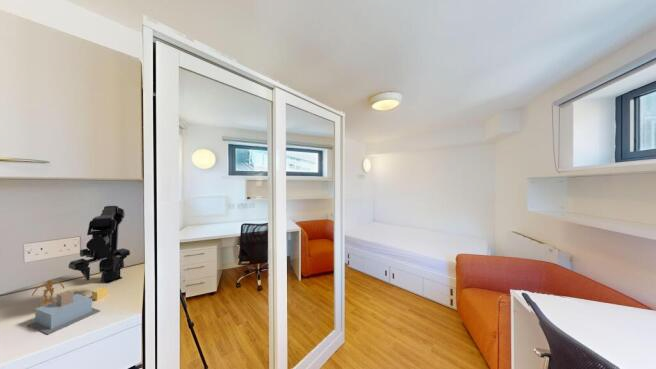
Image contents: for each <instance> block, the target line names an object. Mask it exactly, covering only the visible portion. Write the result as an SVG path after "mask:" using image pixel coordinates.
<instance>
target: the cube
mask: <svg viewBox="0 0 656 369" xmlns="http://www.w3.org/2000/svg"><path fill="white" fill-rule="evenodd" d="M107 297H109V287H107V286H106V287H105V286H102V287H99V288H97V289H93V290H92V291H91V299H92V301H96V302H98V301H100V300H103V299H105V298H107Z"/></svg>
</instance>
